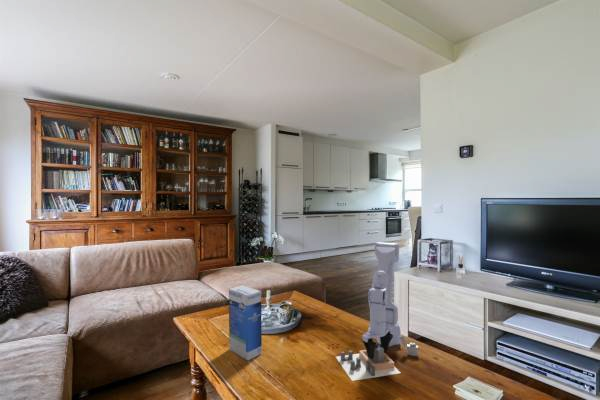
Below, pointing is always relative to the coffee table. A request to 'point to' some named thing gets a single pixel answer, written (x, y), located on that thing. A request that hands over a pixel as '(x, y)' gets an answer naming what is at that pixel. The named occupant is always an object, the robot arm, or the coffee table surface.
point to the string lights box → (245, 322)
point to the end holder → (378, 366)
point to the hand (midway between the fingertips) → (377, 355)
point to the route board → (361, 367)
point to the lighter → (410, 347)
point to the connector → (378, 355)
